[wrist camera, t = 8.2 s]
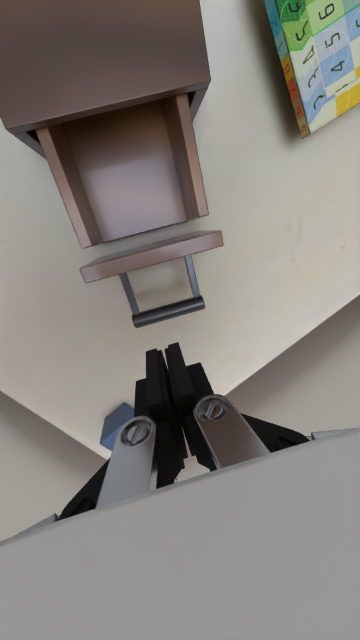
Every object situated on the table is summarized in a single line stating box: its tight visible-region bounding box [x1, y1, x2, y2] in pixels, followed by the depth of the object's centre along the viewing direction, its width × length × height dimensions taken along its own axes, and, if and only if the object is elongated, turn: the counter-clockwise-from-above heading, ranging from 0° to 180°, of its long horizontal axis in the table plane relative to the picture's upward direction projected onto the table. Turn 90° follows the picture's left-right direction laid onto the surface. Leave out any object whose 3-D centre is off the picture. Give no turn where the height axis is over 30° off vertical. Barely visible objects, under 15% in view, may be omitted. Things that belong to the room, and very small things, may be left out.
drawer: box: [35, 93, 224, 328], centre depth 20 cm, size 19×11×7 cm, turn 14°
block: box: [100, 403, 134, 451], centre depth 31 cm, size 4×4×4 cm
